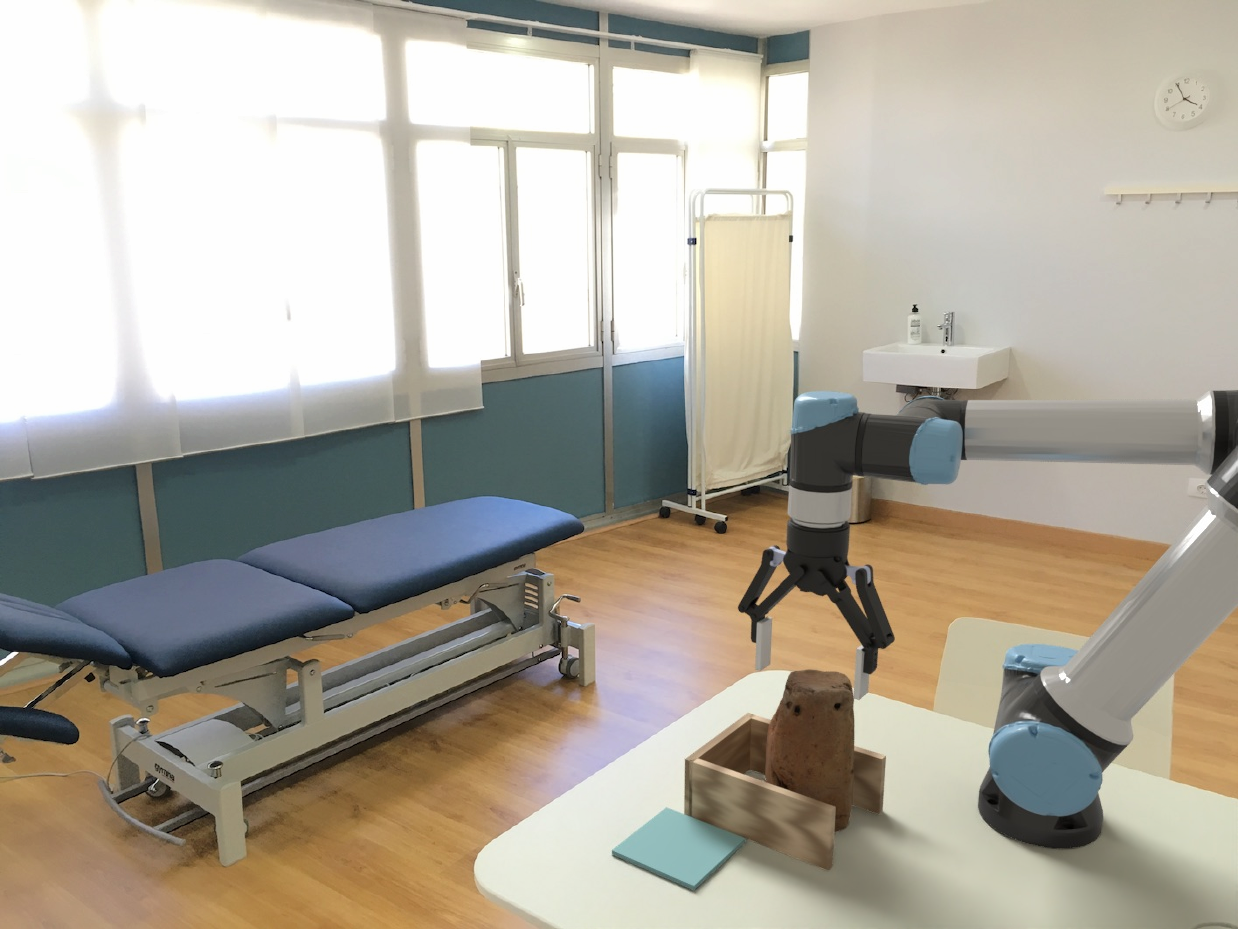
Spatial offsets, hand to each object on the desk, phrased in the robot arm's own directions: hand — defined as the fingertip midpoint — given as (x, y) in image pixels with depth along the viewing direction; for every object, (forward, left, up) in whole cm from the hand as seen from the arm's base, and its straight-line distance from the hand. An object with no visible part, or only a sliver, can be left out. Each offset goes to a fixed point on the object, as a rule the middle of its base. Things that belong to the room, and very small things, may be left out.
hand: (810, 681), depth 130 cm
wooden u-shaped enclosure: (+3, 0, -20) cm, 20 cm away
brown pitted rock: (0, 0, -20) cm, 20 cm away
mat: (+10, +15, -20) cm, 26 cm away
